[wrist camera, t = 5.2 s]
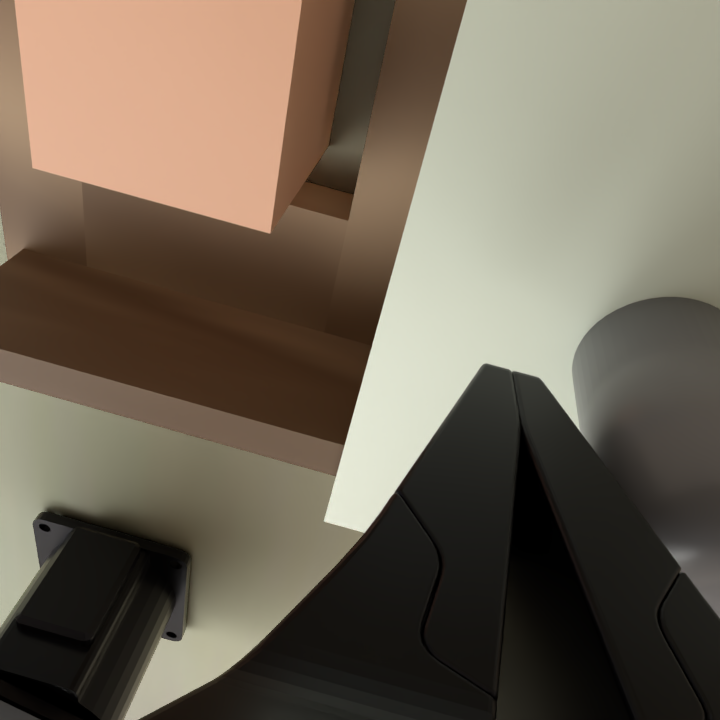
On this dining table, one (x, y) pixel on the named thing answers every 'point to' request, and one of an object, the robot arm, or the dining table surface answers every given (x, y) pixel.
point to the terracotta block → (184, 97)
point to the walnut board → (216, 276)
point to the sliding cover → (565, 256)
